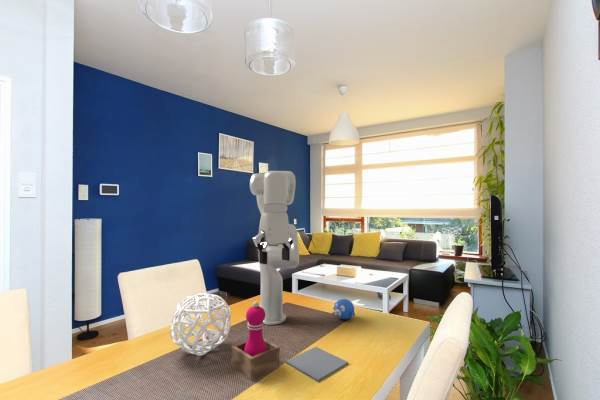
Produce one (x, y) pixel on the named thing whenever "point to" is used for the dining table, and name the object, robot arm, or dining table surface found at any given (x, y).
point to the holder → (255, 360)
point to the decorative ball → (192, 323)
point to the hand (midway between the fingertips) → (274, 261)
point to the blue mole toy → (344, 309)
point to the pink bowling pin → (255, 330)
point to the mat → (316, 363)
